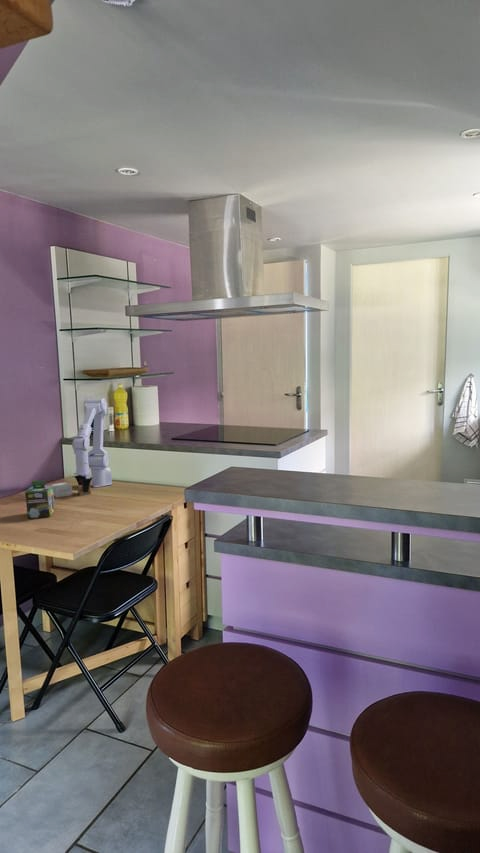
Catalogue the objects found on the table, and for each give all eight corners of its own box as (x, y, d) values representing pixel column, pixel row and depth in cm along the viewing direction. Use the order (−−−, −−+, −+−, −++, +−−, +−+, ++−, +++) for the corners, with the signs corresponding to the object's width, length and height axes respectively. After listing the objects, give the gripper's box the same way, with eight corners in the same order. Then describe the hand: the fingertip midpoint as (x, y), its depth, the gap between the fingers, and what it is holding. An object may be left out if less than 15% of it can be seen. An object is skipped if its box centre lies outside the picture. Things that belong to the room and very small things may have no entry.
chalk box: (55, 511, 230) (52, 477, 228) (50, 517, 221) (47, 482, 219) (33, 512, 229) (30, 478, 227) (26, 518, 220) (23, 483, 218)
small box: (66, 492, 263) (66, 481, 262) (73, 495, 257) (72, 484, 256) (50, 495, 258) (49, 484, 257) (56, 498, 252) (55, 487, 251)
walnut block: (87, 492, 260) (86, 484, 260) (90, 493, 257) (90, 485, 256) (78, 493, 258) (77, 485, 257) (81, 495, 254) (80, 487, 254)
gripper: (68, 461, 259) (71, 489, 261) (79, 466, 247) (81, 495, 249) (83, 459, 263) (85, 487, 265) (94, 464, 251) (95, 492, 253)
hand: (84, 490), depth 257 cm, fingers closed on walnut block, 4 cm apart
